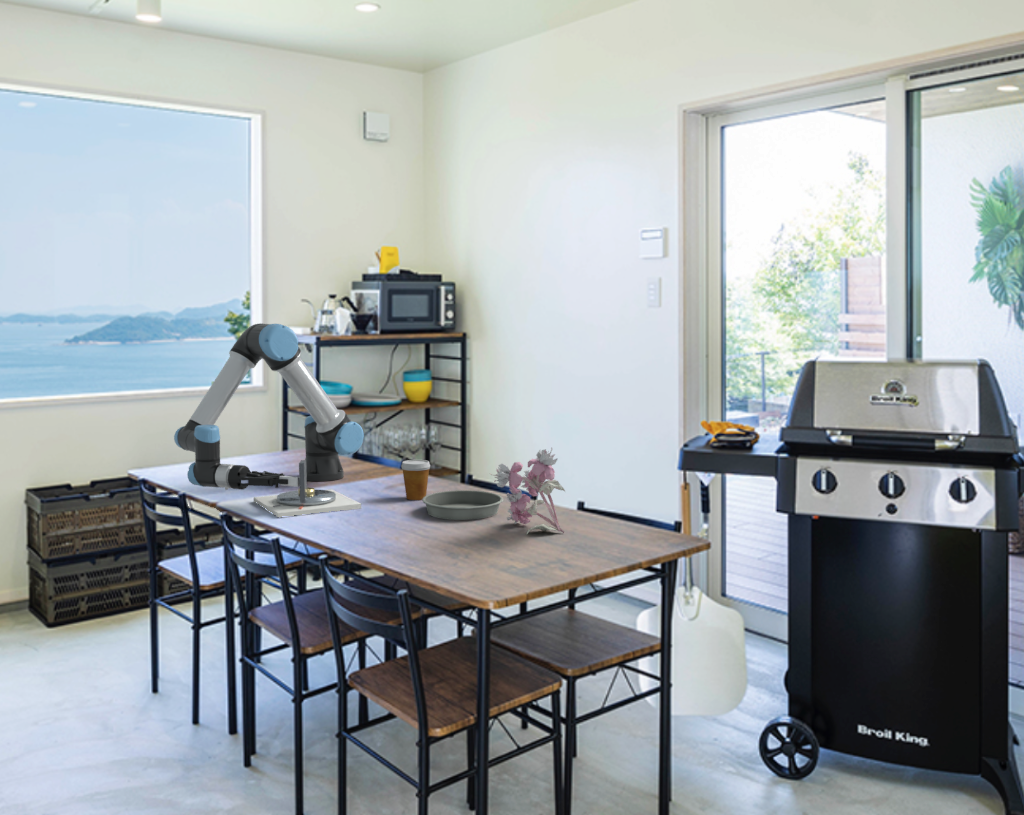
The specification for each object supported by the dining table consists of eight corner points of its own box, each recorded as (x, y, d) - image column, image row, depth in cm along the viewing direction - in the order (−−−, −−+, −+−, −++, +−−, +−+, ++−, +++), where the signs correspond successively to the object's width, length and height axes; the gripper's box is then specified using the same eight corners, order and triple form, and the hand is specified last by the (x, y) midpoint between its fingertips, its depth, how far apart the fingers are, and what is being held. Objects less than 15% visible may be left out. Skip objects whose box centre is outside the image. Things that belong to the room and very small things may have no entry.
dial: (281, 494, 303) (280, 453, 301) (338, 493, 304) (337, 452, 303) (272, 507, 283) (270, 463, 282) (332, 506, 285) (331, 462, 284)
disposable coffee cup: (433, 495, 310) (432, 459, 308) (427, 501, 300) (427, 464, 299) (404, 495, 310) (404, 459, 309) (398, 501, 301) (398, 464, 300)
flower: (581, 514, 275) (544, 438, 275) (590, 524, 253) (550, 441, 252) (520, 544, 275) (482, 468, 274) (523, 557, 252) (482, 474, 252)
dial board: (331, 493, 313) (331, 488, 312) (361, 508, 290) (361, 502, 290) (253, 502, 299) (253, 496, 299) (278, 518, 277) (278, 512, 277)
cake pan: (430, 524, 271) (430, 508, 270) (416, 506, 295) (416, 492, 294) (512, 519, 278) (512, 504, 277) (492, 502, 301) (492, 488, 301)
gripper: (246, 484, 301) (310, 490, 293) (221, 492, 288) (287, 498, 280) (246, 461, 300) (310, 466, 292) (220, 468, 288) (286, 473, 280)
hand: (298, 482), depth 286 cm, fingers closed
